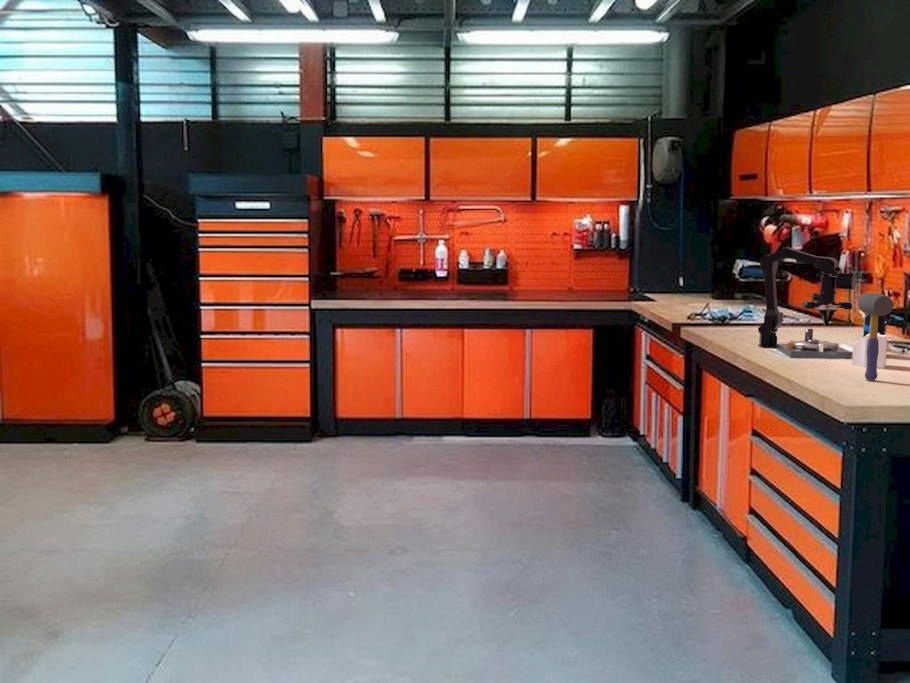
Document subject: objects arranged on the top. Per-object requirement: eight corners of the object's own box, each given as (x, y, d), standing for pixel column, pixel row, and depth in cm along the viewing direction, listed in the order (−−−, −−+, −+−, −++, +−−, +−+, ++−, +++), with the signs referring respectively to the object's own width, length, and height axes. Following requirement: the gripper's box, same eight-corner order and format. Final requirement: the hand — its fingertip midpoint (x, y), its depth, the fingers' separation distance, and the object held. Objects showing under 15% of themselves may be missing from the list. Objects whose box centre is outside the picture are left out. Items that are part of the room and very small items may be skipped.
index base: (790, 357, 378) (791, 343, 377) (775, 349, 401) (776, 336, 400) (851, 358, 376) (852, 344, 375) (833, 350, 399) (834, 337, 398)
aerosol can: (882, 355, 385) (885, 306, 382) (884, 358, 377) (887, 308, 375) (860, 354, 387) (863, 305, 385) (862, 357, 380) (865, 307, 377)
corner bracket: (883, 368, 350) (885, 336, 348) (850, 366, 356) (852, 334, 354) (887, 365, 359) (889, 333, 357) (855, 362, 365) (857, 331, 363)
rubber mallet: (851, 377, 330) (856, 291, 326) (872, 377, 330) (878, 291, 326) (868, 383, 318) (873, 294, 314) (890, 383, 318) (896, 294, 314)
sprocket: (845, 350, 377) (846, 334, 376) (794, 349, 379) (795, 333, 378) (830, 344, 397) (831, 328, 396) (782, 343, 399) (782, 327, 398)
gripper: (845, 287, 398) (842, 324, 400) (799, 286, 399) (797, 323, 402) (853, 289, 387) (851, 327, 389) (806, 288, 388) (804, 326, 391)
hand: (825, 326), depth 393 cm, fingers closed
